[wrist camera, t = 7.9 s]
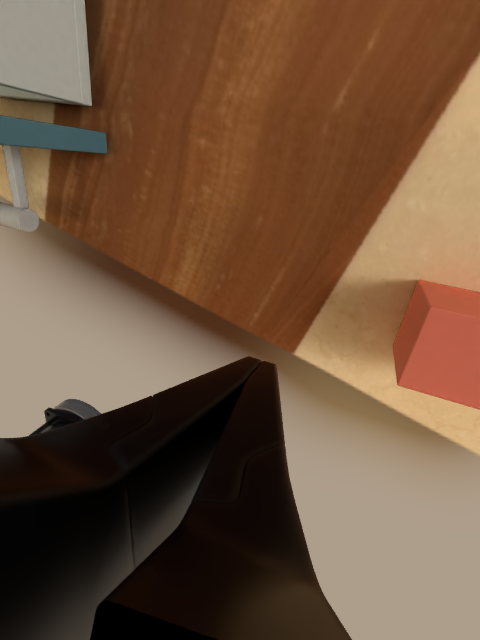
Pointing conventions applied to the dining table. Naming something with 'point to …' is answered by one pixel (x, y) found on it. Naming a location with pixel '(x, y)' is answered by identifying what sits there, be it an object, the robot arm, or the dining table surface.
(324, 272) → the dining table surface
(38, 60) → the open handled drawer
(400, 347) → the terracotta rounded cube
